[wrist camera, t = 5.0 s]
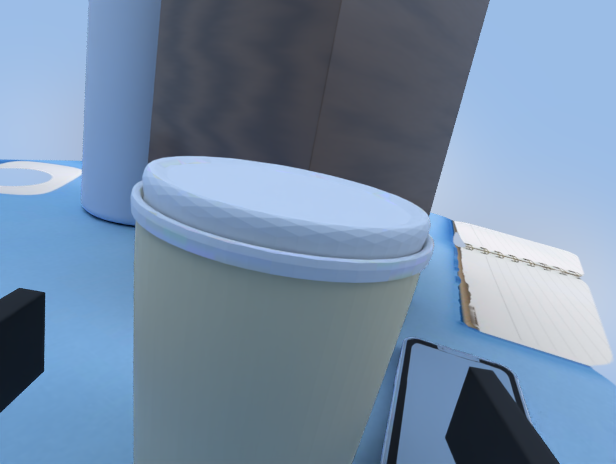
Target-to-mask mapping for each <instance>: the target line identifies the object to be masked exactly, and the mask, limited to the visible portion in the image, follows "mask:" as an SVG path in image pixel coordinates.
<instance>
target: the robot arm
mask: <svg viewBox="0 0 616 464" xmlns="http://www.w3.org/2000/svg"><path fill="white" fill-rule="evenodd" d="M44 336H45V292H40V291H34V290H28V289H23V288H18V289H16V290H15V291H13V292H11V293H10V294H8V295H6V296H4V297H3V298H1V299H0V413H1V412H2V411H3V410H4V409H5V408H6V407H7V406H8V405H9V404H10V403H11V402H12V401H13V400H14V399H15V398H16V397H17V396H18V395H19V394H21V393H22V392H23V391H24V390H25V389H26V388H27V387H28V386H29V385H30V384H31V383H32V382H33V381H34V380H35V379H36V378H37V377H38V376H39V375H40V374H42V373H43V372H44ZM445 439H446V442H447V444H448V447H449V449H450V451H451V454H452V456H453V459H454V461H455V463H456V464H560V463H559V462H558V461H557V459H556V458H555V456H554V455H553V454H552V452H551V451H550V449H549V448H548V447H547V445H546V444H545V442H544V441H543V440H542V438H541V437H540V435H539V434H538V433H537V431H536V430H535V429H534V427H533V426H532V424H531V423H530V422H529V420H528V419H527V417H526V416H525V415H524V413H523V412H522V410H521V409H520V408H519V406H518V405H517V403H516V402H515V401H514V399H513V398H512V396H511V395H510V394H509V392H508V391H507V389H506V388H505V387H504V385H503V384H502V382H501V381H500V380H499V378H498V377H497V375H496V374H495V373H494V371H493V370H488V369H482V368H476V367H470V366H469V369H468V372H467V375H466V377H465V380H464V383H463V386H462V389H461V392H460V395H459V398H458V401H457V404H456V406H455V409H454V412H453V415H452V418H451V421H450V424H449V427H448V430H447V433H446V435H445Z"/></svg>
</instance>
